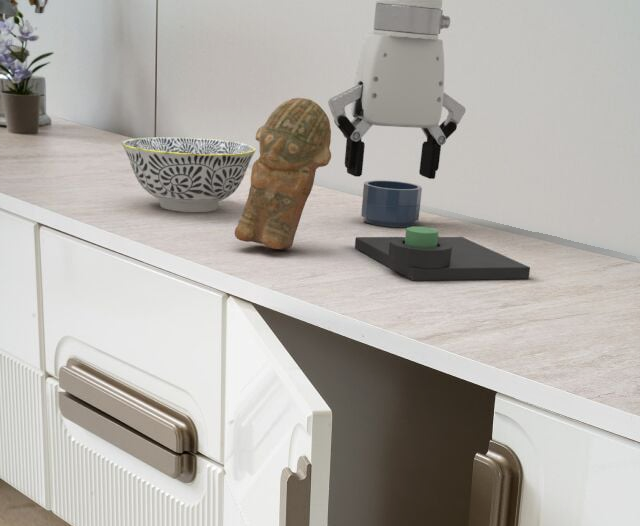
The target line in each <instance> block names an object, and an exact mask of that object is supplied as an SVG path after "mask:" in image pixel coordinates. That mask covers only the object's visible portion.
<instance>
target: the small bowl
mask: <svg viewBox="0 0 640 526" xmlns="http://www.w3.org/2000/svg"><path fill="white" fill-rule="evenodd" d="M422 191H423V188H422V186H421V185H419V184H415V183H411V182H406V181H397V180H380V179H379V180H378V179H377V180H376V179H375V180H368V181H364V182H363V189H362V200H361V201H362V203H361V216H360V217H362V218H364V222H365V223H368V224H370V225H374V226H378V227H385V228H386V227H387V228H408V227H414V225H415V223H416V222H418V221H419V219H420V212H421V211H420V210H421V202H422Z"/></svg>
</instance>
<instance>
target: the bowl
mask: <svg viewBox="0 0 640 526" xmlns="http://www.w3.org/2000/svg"><path fill="white" fill-rule="evenodd" d="M121 145H122V147H123V149H124V151H125V153H126V156H127V158H128V160H129V163H130V166H131V169H132V171H133V174H134V176H135V178H136V180H137V182H138V183H139V184H140V186H141V187H142V188H143V189H144V191H146V193H148V194H149V195H151V196H152V197H154V198H156V199H157V200H158V201H159V206H160V207H161V208H162V209H165V210H168V211H173V212H181V213H208V212H214V211H216V210H217V209H218V207H219V203H220V202H222V201H223V200H225V199H228V198H229V197H230V196H232V195H233V194H234V193H235V192H236V191H237V189H238V188H239V187H240V185H241V183H242V181H243V180H244V177H245V175H246V173H247V170H248V167H249V166H250V165H249V164H250V162H251V161H252V158H253V156H254V154H255V152H257V151H256V150H257V148H256V147H255V146H253V145H251V144H247V143H245V142H238V141H234V140H233V141H232V140H225V139H216V138H200V137H179V136H176V137H173V136H157V137H156V136H155V137H138V138H130V139H126V140H124V141H122V142H121Z"/></svg>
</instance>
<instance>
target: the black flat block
mask: <svg viewBox="0 0 640 526" xmlns="http://www.w3.org/2000/svg"><path fill="white" fill-rule="evenodd" d="M405 237H406V236H355V240H354V248H355V249H356V250H358V251H360V252H361V253H363V254H365V255H366V256H368V257H370V258H372V259H374V260H375V261H377V262H379V263H381V264H382V265H384V266H386V267H388V268H389V269H391V270H393V271H394V272H396V273H398V274H400V275H402V276H403V277H406V278H407V279H409V280H411V281H412V282H413V281H414V282H417V281H420V282H421V281H425V282H426V281H474V280H475V281H478V280H479V281H481V280H485V281H486V280H528V279H529V278H530V272H531V267H530V266H528V265H526V264H523V263H521V262H520V261H517V260H515V259H512V258H510V257H508V256H506V255H504V254H501V253H500V252H497V251H495V250H492V249H490V248H487V247H486V246H483V245H481V244H479V243H477V242H475V241H472V240H470V239H467V238H466V237H463V236H438V243H437V247H435V248H423V247H414V246H410V245H405Z"/></svg>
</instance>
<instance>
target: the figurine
mask: <svg viewBox="0 0 640 526" xmlns="http://www.w3.org/2000/svg"><path fill="white" fill-rule="evenodd" d="M331 138H332V129H331V123H330V118H329V116H328V115H327V113H326V112H325V110H324V109H323V108H322V107H321V106H320V105H319V104H318V103H317V102H315V101H313V100H312V99H309V98H304V97H295V98H291V99H287V100H285V101H283V102H282V103H281V104H279V105H278V106H277V107H276V108H275V109H274V110H273V111H272V112H271V113H270V115H269V116H268V117H267V120H266V121H265V123H264V124H263V125H261V126H260V127H259V128H258V129H257V131H256V133H255V140H256V141H257V142H259V157H258V159H256V160H255V161H254V162H253V164H252V166H251V174H250V186H249V187H250V188H249V191H248V194H247V195H248V196H247V199H246V202H245V205H244V207H243V211H242V213H241V215H240V218H239V220H238V223H237V225H236V226H235V229H234V237H235V238H236V239H237V240H239V241H241V242H246V243H249V242H251V243H257V244H261V245H264V246H266V247H267V248H269V249H273V250H282V251H287V250H290V249H291V248H292V247H293V245H294V240H295V237H296V233H297V230H298V228H299V224H300V221H301V218H302V214H303V211H304V210H305V209H304V208H305V205H306V202H307V201H308V198H309V196H310V194H311V192H312V190H313V186H314V183H315V177H316V172H317V170H318V169H319V168H322V167H326V166H328V165H329V163H330V161H331V159H332V152H331V150H330V149H331V148H330V146H331V141H332V139H331Z"/></svg>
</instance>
